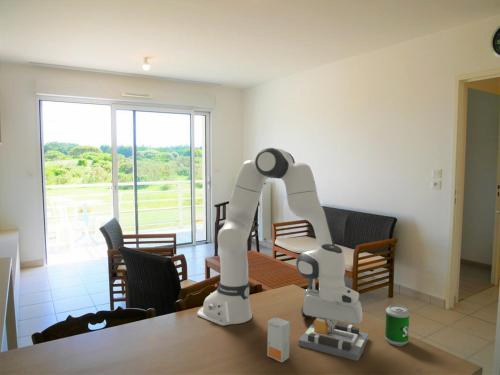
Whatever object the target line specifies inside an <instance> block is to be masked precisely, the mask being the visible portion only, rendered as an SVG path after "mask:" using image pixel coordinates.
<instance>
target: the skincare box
mask: <svg viewBox="0 0 500 375" xmlns="http://www.w3.org/2000/svg"><path fill="white" fill-rule="evenodd" d="M290 323H291V322H290V321H287V320H285V319H282V318H280V317H279V318H278V317H275V316H274V317H272V318H270V319H269V320H267V354H266V356H267V357H269V358H271V359H272V360H275V361H278V362H280V363H284V362H285V361H287V360H288V359H289V358H290V335H291V334H290V333H291V332H290V329H291V327H290V326H291V324H290Z"/></svg>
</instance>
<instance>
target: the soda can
mask: <svg viewBox="0 0 500 375" xmlns="http://www.w3.org/2000/svg"><path fill="white" fill-rule="evenodd" d="M384 330H385V331H384V334H385V335H384V336H385V340H386V341H387V342H388V343H389V344H391V345H393V346H397V347H402V346H405V345H406V344H408V343H409V336H410V335H409V334H410V312H409V310H408V309H407V308H406V307H405V306H403V305H398V304H391V305H389V306H388V307H386V308H385V329H384Z"/></svg>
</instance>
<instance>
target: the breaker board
mask: <svg viewBox="0 0 500 375" xmlns="http://www.w3.org/2000/svg"><path fill="white" fill-rule="evenodd" d="M310 333H311V334H315V335H316V334H317V333H316V332H314V321H313V322H312V323H311V325H309V327H308V328H307V329H306V330H305V331H304V333H303V334H302V335H301V336H300V337H299V339H298V346H299V347H303V348H307V349H310V350H314V351H317V352H321V353H325V354H328V355H329V354H330V355H334V356H337V357H340V358H345V359H348V360H352V361H355V362H359V360H360V358H361V356H362V353H363V352H364V349H365V347H366V345H367V342H368V340H369V333H366V332H362V331H359V334H354V333H349V332H345V331H340V330H336V329H335V331H334V332H330V331H329V332H328V334H327V335H324V334H320V333H318V334H320V336H323V337H327V338H332V339H336V340H340V339H343V340H344V342H348V343H351V349H350V351H347V350H343V349H342V350H341V349H338V348H335V347H331V346H327V345H324V344H320V343H318V344H317V343H314V342H312V341H308V335H309V334H310Z"/></svg>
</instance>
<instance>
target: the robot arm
mask: <svg viewBox="0 0 500 375" xmlns="http://www.w3.org/2000/svg"><path fill="white" fill-rule="evenodd" d="M291 154H292V153H289V152H287V151H286V150H284V149H281V148H275V147H267V148H264V149H262V150H260V151H259V152H258V153H257V155H256V157H255V159H249V160H248V159H247V160H246V161H244V162H243V163H242V165H241V166H240V168H239V170H238V172H237V175H236V178H235V181H234V184H233V188H232V192H231V195H230V197H229V202H228V208H227V213H226V216H225V221H224V224H223V226H222V227H221V228H220V229H219V230H218V233H217V245H218V246H217V247H218V255H219V256H218V257H219V261H220V262H219V264H220V280H219V281H218V282H217V283H215V284H214V285H215V286H214V287H215V288H216V287H217V288H216V290H214V291H213V292H212V293H210V294H209V295H208V296H206V297H205V299H204V301H203V305H202V307H200V308H199V309H198V310H197V312H196V313H197V314H196V315H197V316H198V317H200V318H203V319H205V320H208V321H210V322H212V323H215V324H217V325H219V326H228V325H237V324H243V323H246V322H249V321H250V320H252V318H253V314H252V309H251V305H250V282H249V259H248V249H247V248H248V246H247V243H248V239H249V237H250V234H251V230H252V226H253V223H254V220H255V219H254V218H255V215H256V212H257V207H258V204H259V203H260V202H259V201H260V197H261V195H262V191H263V188H264V185H265V182H266V180H268V179H269V178H270V179H278V180H279V179H280V180H282V181H283V183H284V186H285V192H286V200H287V206H288V208H289V210H290V212H291V213H292V214H293V215H295V216H296V217H297V218H301V219H304V220H306V221H307V222H309V223H310V224H311V225H312V228H313V231H314V235H315V240H316V243H317V248H315V249H311V250H308V251H304V252H302V253H299V255H297V258H296V260H295V267H296V270H297V272H298V275H300V276H301V277H302V278H304V279H308V280H309V279H315V280H318V289H315V290H313V289H304V290H303V293H302V294H303V296H302V297H303V299H304V300H303V304H302V307H303V312H304V314H305V315H309V316H313V317H315V318H317V317H319V318H324V319H326V322H327V324H328V325H329V331H330V332H334V331H335V325H336V323H338V322H341V323H346V324H350V325H355V326H356V325H358V326H359V325H360V324H361V323H362V321H363V310H362V309H363V308H362V303H361V300H359V297H360V293H359V292H358V291H357V290H356V291H355V290H354V289H352V288H350V287H347V286H346V282H345V278H344V277H345V274H346V259H345V255H344V251H343V249H342V247H339V246H338V245H336V244H335V241H334V238H333V233H332V231H331V227H330V223H329V219H328V216H327V213H326V211H325V209H324V208H323V206H322V204H321V202H320V200H319V196H318V191H317V186H316V181H315V177H314V174H313V171H312V168H311V167H310V165H308V164H306V163H303V162H297V163H296V161H295V159H294V157H293V156H292V155H291ZM332 323H334V324H332Z"/></svg>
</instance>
